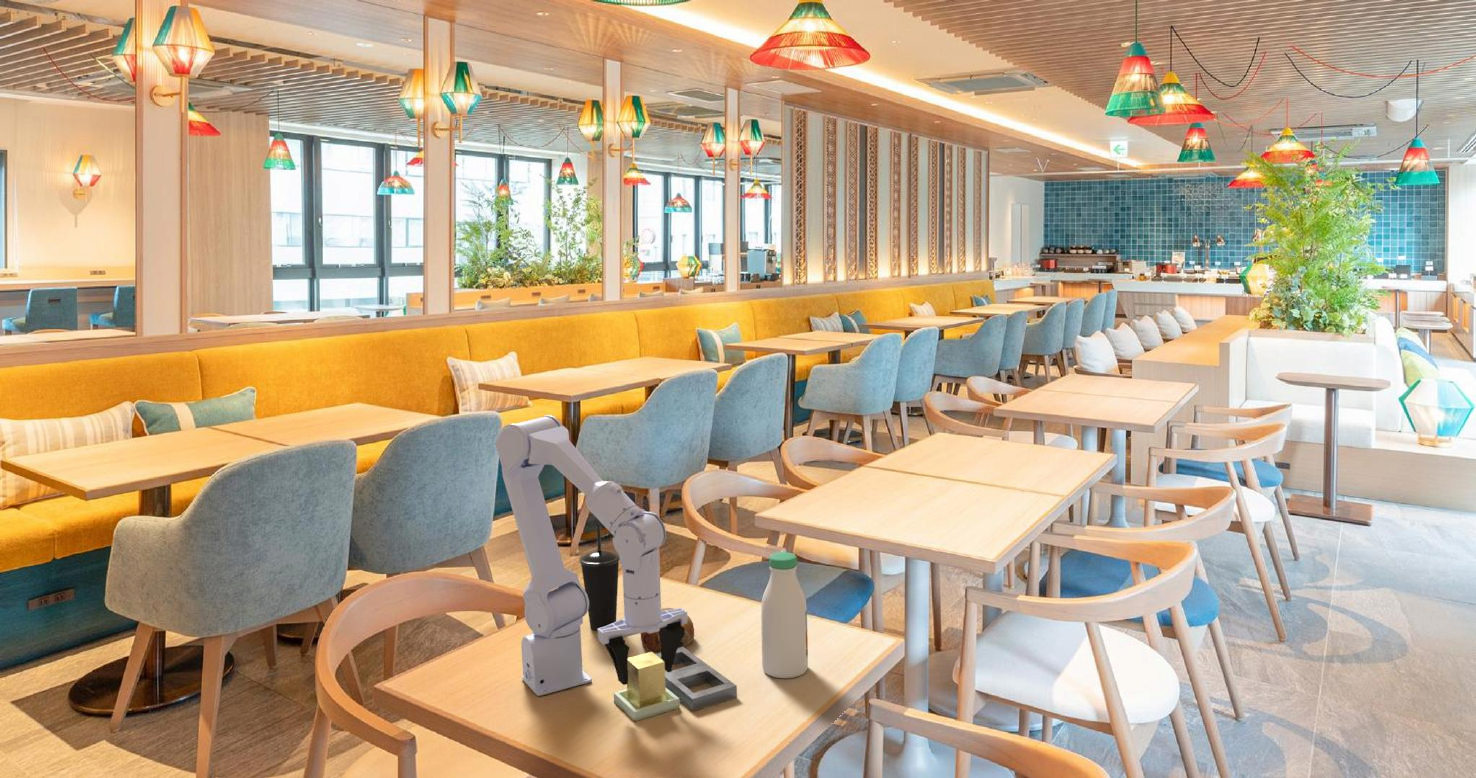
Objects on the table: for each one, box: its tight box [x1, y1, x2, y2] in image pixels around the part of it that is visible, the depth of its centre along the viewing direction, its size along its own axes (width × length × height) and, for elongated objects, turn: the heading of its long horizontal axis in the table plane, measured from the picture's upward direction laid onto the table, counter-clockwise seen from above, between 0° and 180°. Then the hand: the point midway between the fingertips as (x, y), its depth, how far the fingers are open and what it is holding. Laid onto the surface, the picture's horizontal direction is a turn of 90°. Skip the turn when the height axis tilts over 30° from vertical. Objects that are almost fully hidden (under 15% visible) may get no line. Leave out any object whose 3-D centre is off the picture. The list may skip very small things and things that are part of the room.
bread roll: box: [640, 607, 695, 653], centre depth 173 cm, size 10×10×8 cm
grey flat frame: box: [654, 647, 738, 712], centre depth 156 cm, size 8×18×2 cm, turn 31°
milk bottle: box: [760, 551, 809, 679], centre depth 159 cm, size 8×8×20 cm
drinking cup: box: [578, 523, 620, 632], centre depth 179 cm, size 8×8×20 cm
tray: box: [613, 687, 681, 722], centre depth 149 cm, size 8×8×2 cm
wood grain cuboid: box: [626, 651, 666, 709], centre depth 149 cm, size 4×4×7 cm
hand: (645, 675), depth 148 cm, fingers open, 7 cm apart
